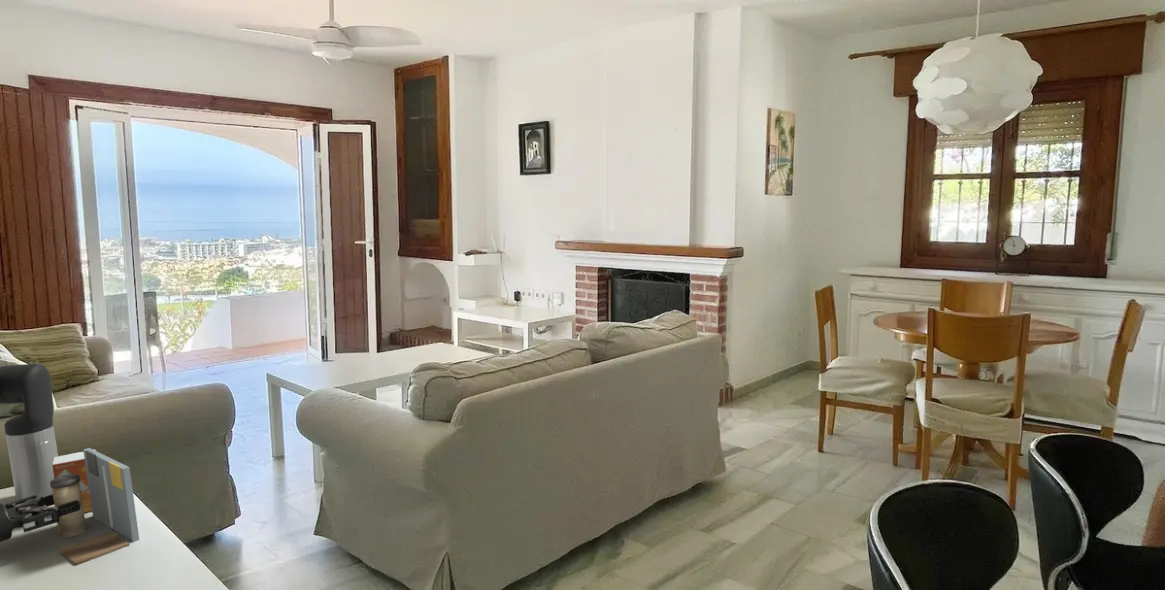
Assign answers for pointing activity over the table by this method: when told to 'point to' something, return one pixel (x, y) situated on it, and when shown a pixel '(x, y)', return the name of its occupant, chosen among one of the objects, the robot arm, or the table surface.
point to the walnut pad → (93, 547)
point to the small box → (74, 466)
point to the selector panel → (111, 493)
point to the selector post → (63, 493)
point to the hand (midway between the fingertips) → (72, 500)
